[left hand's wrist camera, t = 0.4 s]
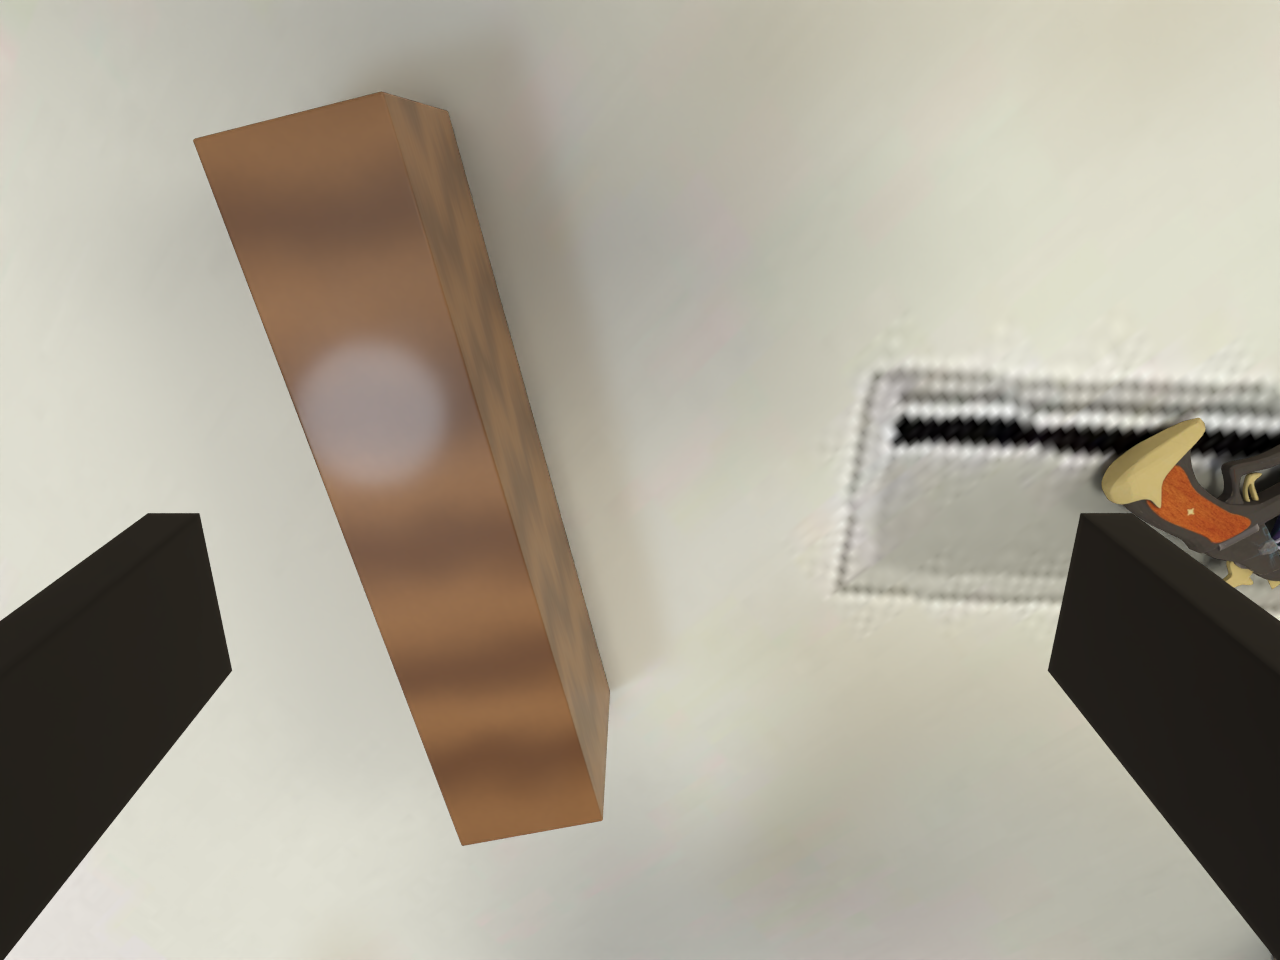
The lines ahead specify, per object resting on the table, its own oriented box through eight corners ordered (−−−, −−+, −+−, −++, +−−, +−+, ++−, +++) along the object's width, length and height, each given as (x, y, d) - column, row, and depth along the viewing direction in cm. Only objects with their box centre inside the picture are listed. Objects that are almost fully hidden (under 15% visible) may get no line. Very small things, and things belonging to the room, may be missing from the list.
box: (303, 146, 36) (191, 138, 27) (447, 110, 36) (382, 90, 27) (496, 713, 46) (461, 846, 37) (610, 691, 46) (603, 821, 37)
